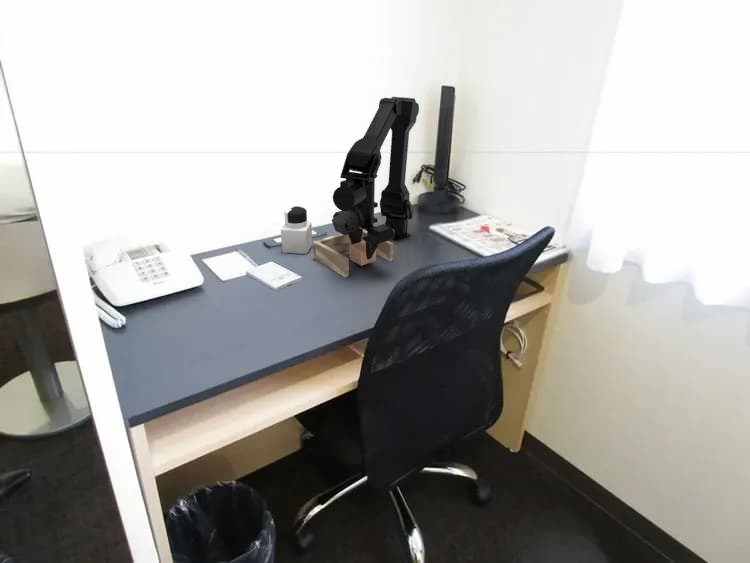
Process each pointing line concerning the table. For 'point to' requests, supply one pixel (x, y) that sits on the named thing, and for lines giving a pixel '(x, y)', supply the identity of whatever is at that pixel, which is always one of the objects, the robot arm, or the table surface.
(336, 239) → the open wooden frame
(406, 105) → the robot arm
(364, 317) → the table surface
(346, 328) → the table surface
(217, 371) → the table surface
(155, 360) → the table surface
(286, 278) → the external hard drive
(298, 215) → the medicine bottle
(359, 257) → the terracotta block
